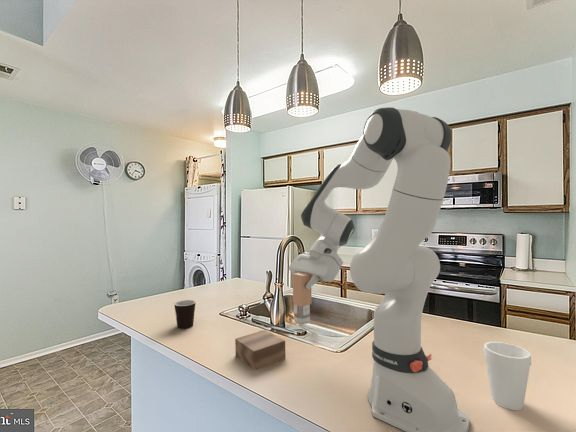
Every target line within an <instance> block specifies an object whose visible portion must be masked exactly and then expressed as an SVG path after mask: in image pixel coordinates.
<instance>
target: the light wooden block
mask: <svg viewBox="0 0 576 432" xmlns="http://www.w3.org/2000/svg"><path fill="white" fill-rule="evenodd" d="M311 279H312V278H311V274H307V273H303V272H301V273H295V274H293V273H292V304H293V305H294V304H296V305H299V306H301V307H302V306H306V305H312V304H313V303H312V302H313V301H312V300H313V299H312V287H311V288H310V289H306V288H305V287H304V285H305V283H306V282H308V281H310V280H311Z"/></svg>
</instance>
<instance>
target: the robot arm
mask: <svg viewBox="0 0 576 432" xmlns="http://www.w3.org/2000/svg"><path fill="white" fill-rule="evenodd" d="M362 130H363V132H362V136H361V137H360V138H359V140H358V141H357V143H356V145H355V147H354V149H353V151H352V153H351V155H350V157H349V158H348V159H347V160H346V161H345V162H343V163H337V164H336V165H335V166H334V167H333V168H332V169H331V170H330V171H329V173H328V174H327V175H326V177H325V178H324V180H323V181H322V183H321V184H320V185H319V187H318V188H317V190H316V192H315V194H314V195H313V196H312V198H311V199H310V201H309V202H308V203H307V204H306V205H305V206H304V208H303V209H302V212H301V215H300V218H301V221H302V223H303V226H305V227H307V228H309V229H311V230H314V231H315V232H317V233H319V234H320V235H319V237H318V238H317V239H316V240H315V241H314V242H313V244H312V245H311V247H310V249H309V250H308V252H306V251H305V252H302V253H299V254H298V255H297V256H296V257H295V258H294V259H293V260H292V261H291V263H290V264H289V266H288V270H289V272H291V273H292V275H293V274H295V273H301V272H303V273H307V274H311V280H310V281H308V282H306V283H305V285H304V287H305V288H306V289H310V288H311V289H312V287H313V286H314V285H316V283H318V282H319V281H323V282H326V283H331V282H333V281H334V280H335V278H337V275H338V273H339V272H340V268H341V267H342V266H343V264H344V261H343V259H342V258H341V257H340V255H339V254H338V250H339V249H340V248H341V247H342V246H345V245H347V243H348V242H349V239H350V238H351V237H352V236H353V234H354V233H355V230H356V229H355V228H356V227H355V224H354V221H353V219H352V218H351V217H349V216H347V215H346V214H343V213H342V212H341V211H338V210H336V209H334V208H333V207H331V206H329V205H327V204H326V202H325V201H326V200H327V198H328V197H329V196H330V194H331V193H332V191H333V190H334V189H336V188H348V189H354V190H367V189H372V188H374V187H375V186H377V185H378V184H379V183H380V182H381V180H382V179H383V177H384V176H385V174H386V173H387V171H388V169H389V168H390V166H391V163H392V162H393V160H394V161H395V162H396V164H397V173H396V176H395V180H394V183H393V187H392V191H391V195H390V197H389V201H388V205H387V208H386V212H385V216H384V218H383V220H382V222H381V224H380V226H379V228H378V230H376V232H375V233H374V235H373V237H372V238H371V239H370V240H369V242H368V243H367V245H366V246H365V247H363V249H361V250H360V251H359V252H357V253H355V255H354V256H353V257H352V258H351V262H350V265H349V273H350V278H351V280H352V282H353V284H354V286H355V287H356V288H357V289H358V290H359V291H361V292H364V293H366V294H367V293H368V294H381V295H382V294H384V296H383V298H382V300H381V302H380V303H379V304H378V305H377V306H376V308H375V310H374V312H373V341H372V342H371V345H372V347H371V351H372V352H371V357H372V359H373V368H372V377H371V384H370V387H369V390H368V394H367V399H368V402H369V404H370V405H371V416H372V417H374V418H376V419H378V420H380V421H382V422H385V423H386V424H389V425H391V426H393V427H395V428H397V429H400V430H402V431H404V432H469V429H470V419H469V415H468V414H467V413H466V412H464V411H463V410H461V409H459V408H458V404H457V399H456V396H455V393H454V391H453V389H452V388H451V387H450V386H449V385H448V384H446V382H445V381H444V380H443V379H442V378H441V377H440V376H439V375H438V374H437V373H436V372H435V371H434V370H433V369H432V367H431V366H430V365H429V362H430V361H431V360H432V359H433V358H432V353H430V354H428V355H426V354H425V351H424V350H423V347H422V345H421V343H422V316H423V309H424V306H425V303H426V299H427V296H428V294H429V290H430V288H431V286H432V284H433V283H434V282H435V280H436V279H437V277H438V276H439V275H440V274H439V273H440V272H441V263H440V262H441V261H440V259H439V257H438V255H437V254H436V252H435V251H434V250H433V249H431V248H429V247H427V246H423V245H421V243H423V241H424V240H425V239H426V238H428V237H429V236H430V235H431V234H432V233H433V231H434V229H435V226H436V224H437V223H436V222H437V220H438V217H439V214H440V211H441V208H442V205H443V201H444V198H445V194H446V192H447V188H448V187H447V186H448V182H449V176H450V170H451V157H450V154H449V152H448V149H449V148H450V145H451V142H452V139H453V136H452V135H453V134H452V133H453V132H452V129H451V126H450V125H449V124H448V123H447V122H445V121H444V120H443V119H441V118H438V117H436V116H429V115H427V114H424V113H421V112H418V111H415V110H409V109H401V108H398V109H397V108H395V107H380V108H377V109H375V110H373V111H372V112H371V114H370V115H368V118H367V119H366V121H365V123H364V126H363V129H362Z"/></svg>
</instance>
